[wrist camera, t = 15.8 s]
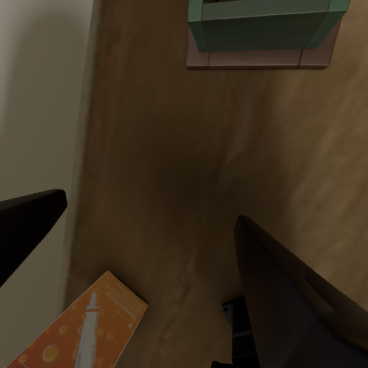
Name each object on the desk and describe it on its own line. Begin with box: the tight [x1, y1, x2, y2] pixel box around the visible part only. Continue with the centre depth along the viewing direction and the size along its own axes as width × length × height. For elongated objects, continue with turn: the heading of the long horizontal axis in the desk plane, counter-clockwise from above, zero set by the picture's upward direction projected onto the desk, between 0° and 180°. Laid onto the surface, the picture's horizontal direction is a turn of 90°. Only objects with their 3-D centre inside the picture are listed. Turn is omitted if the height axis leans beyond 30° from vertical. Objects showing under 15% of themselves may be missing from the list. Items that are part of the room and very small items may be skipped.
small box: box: [5, 270, 148, 368], centre depth 21 cm, size 8×6×13 cm
